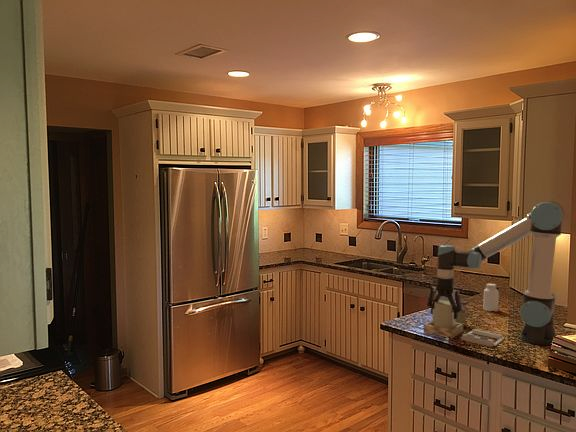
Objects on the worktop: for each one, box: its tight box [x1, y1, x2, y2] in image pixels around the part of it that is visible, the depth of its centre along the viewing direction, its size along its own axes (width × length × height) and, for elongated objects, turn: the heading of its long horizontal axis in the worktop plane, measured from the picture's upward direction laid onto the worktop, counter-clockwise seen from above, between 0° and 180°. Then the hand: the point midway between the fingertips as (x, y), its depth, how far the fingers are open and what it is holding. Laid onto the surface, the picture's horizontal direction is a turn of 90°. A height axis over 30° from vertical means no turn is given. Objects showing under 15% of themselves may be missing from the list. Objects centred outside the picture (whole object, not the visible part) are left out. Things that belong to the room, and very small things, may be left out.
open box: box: [423, 320, 464, 339], centre depth 232 cm, size 14×14×4 cm
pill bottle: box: [482, 283, 500, 312], centre depth 274 cm, size 8×8×15 cm
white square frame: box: [460, 329, 505, 348], centre depth 221 cm, size 15×15×3 cm
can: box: [434, 301, 454, 329], centre depth 231 cm, size 9×9×12 cm
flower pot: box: [455, 308, 468, 325], centre depth 244 cm, size 10×10×7 cm
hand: (443, 323), depth 232 cm, fingers closed on can, 9 cm apart
